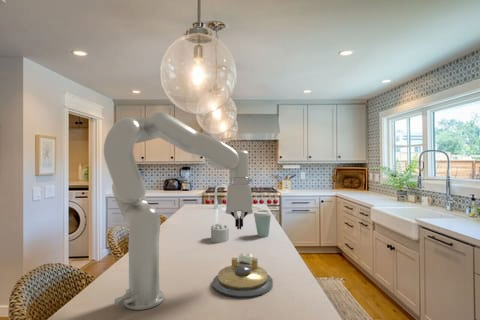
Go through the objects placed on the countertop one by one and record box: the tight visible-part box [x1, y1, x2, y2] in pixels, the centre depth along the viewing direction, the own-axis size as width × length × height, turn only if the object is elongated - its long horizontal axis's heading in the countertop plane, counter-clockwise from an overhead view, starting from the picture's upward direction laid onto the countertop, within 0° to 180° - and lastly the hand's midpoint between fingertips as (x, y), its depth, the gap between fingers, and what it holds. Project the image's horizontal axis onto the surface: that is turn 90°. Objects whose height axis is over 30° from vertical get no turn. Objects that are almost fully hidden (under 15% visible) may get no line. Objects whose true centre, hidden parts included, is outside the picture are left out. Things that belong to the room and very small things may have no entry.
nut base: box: [212, 273, 274, 299], centre depth 108 cm, size 22×22×3 cm
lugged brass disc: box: [217, 257, 268, 291], centre depth 108 cm, size 18×18×6 cm
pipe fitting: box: [237, 253, 258, 265], centre depth 131 cm, size 8×4×7 cm
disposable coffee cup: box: [253, 209, 272, 238], centre depth 178 cm, size 11×11×15 cm
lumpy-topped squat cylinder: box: [210, 223, 230, 244], centre depth 170 cm, size 10×13×9 cm
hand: (239, 228), depth 115 cm, fingers closed
